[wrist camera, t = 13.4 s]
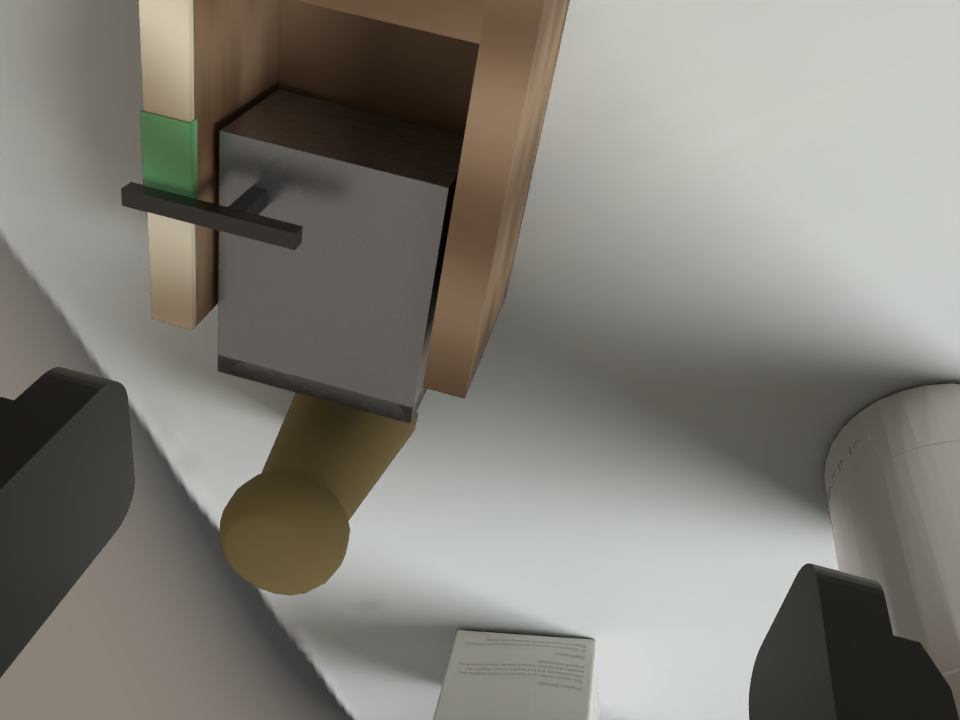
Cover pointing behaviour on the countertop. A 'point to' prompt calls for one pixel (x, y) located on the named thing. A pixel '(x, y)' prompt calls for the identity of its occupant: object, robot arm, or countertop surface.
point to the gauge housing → (366, 86)
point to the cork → (308, 494)
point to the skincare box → (519, 678)
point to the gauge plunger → (326, 248)
